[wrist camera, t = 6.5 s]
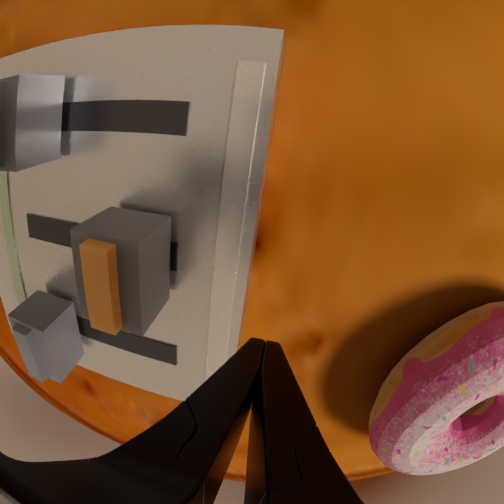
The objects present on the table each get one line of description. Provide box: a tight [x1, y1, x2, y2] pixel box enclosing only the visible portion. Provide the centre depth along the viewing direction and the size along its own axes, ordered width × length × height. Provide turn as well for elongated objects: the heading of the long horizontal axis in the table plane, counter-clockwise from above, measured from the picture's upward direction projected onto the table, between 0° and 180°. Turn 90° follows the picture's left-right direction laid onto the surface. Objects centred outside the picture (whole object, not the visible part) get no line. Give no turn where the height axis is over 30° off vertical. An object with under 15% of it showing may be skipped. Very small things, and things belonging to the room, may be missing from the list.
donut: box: [369, 301, 504, 475], centre depth 14 cm, size 14×13×5 cm
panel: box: [0, 25, 286, 401], centre depth 15 cm, size 18×20×2 cm
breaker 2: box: [8, 290, 85, 384], centre depth 15 cm, size 3×4×4 cm
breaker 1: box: [0, 74, 65, 172], centre depth 10 cm, size 3×4×4 cm
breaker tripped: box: [70, 207, 172, 337], centre depth 12 cm, size 3×4×4 cm
